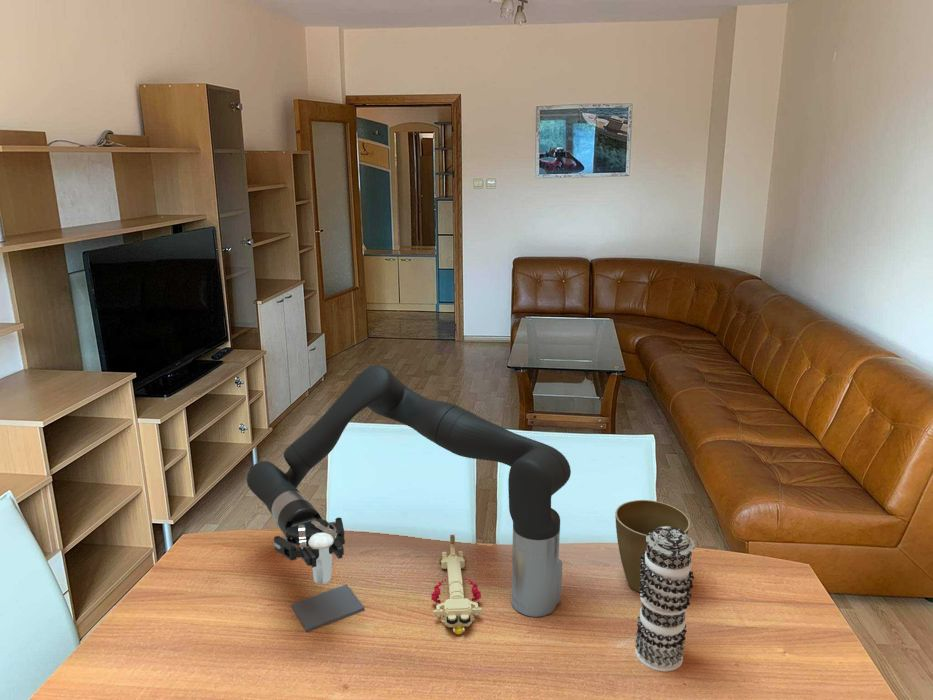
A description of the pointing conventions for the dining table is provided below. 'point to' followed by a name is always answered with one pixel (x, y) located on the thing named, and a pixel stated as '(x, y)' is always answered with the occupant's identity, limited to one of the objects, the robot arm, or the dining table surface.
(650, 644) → the decorative candle
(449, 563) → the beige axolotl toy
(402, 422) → the robot arm
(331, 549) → the milkshake
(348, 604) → the charcoal mat
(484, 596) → the dining table surface
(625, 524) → the plant pot
